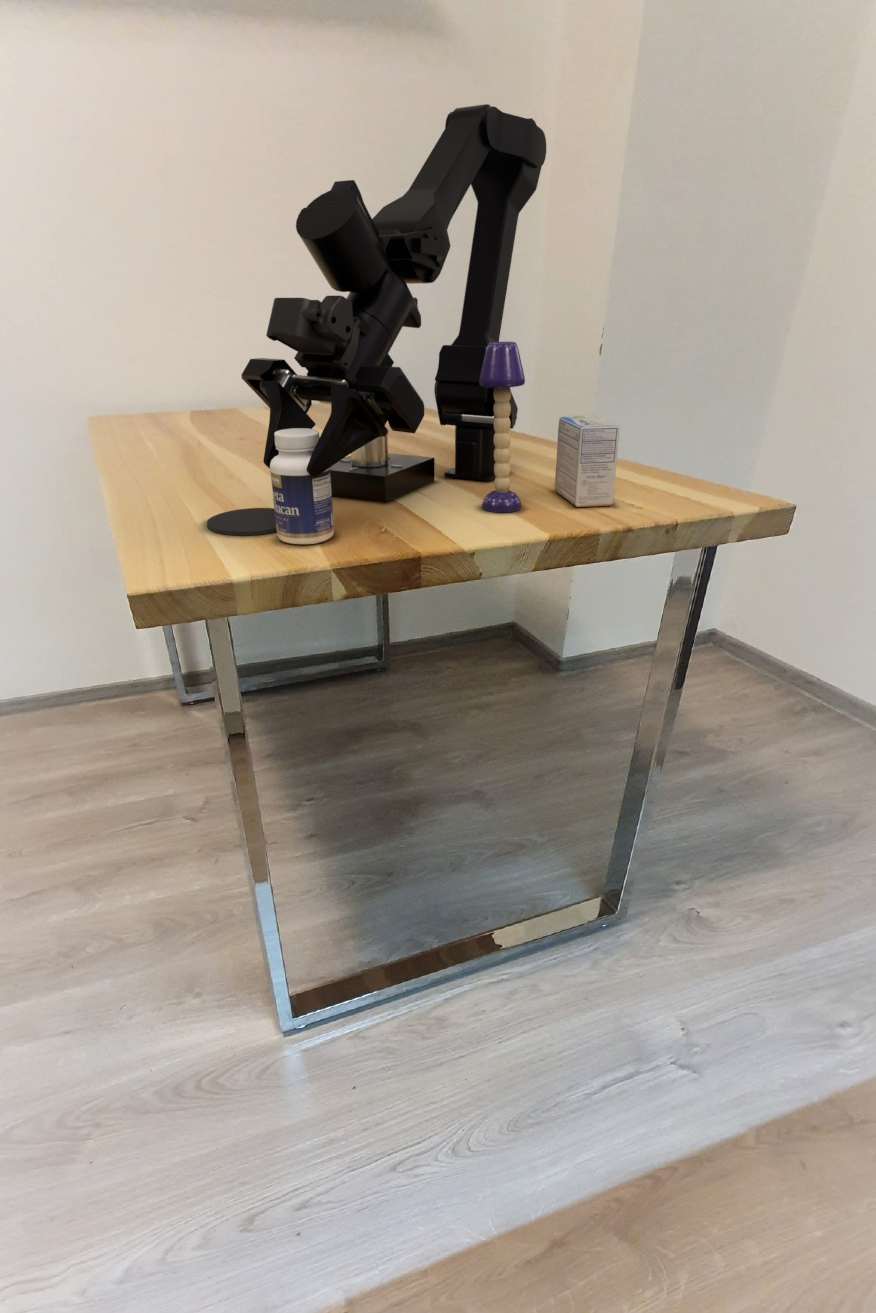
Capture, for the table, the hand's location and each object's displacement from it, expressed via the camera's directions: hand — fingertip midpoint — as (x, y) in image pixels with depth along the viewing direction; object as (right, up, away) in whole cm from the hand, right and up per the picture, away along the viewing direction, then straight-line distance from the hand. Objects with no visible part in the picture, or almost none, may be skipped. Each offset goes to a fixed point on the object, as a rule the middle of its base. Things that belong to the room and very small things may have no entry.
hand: (288, 470), depth 65 cm
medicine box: (+30, +1, +18) cm, 35 cm away
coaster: (-5, -3, +9) cm, 11 cm away
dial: (+5, +6, +21) cm, 22 cm away
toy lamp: (+20, -1, +14) cm, 25 cm away
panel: (+6, +4, +23) cm, 24 cm away
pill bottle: (+1, -6, +4) cm, 7 cm away
